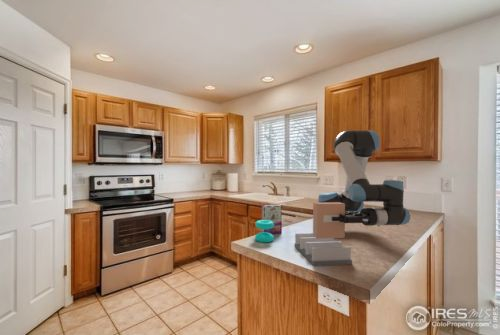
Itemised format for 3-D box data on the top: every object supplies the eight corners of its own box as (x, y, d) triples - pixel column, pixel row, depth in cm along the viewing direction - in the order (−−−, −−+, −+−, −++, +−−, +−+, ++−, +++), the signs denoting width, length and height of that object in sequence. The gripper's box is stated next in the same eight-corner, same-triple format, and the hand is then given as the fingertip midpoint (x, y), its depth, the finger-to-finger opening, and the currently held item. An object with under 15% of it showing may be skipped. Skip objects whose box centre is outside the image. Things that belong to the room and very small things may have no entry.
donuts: (266, 224, 119) (251, 221, 125) (266, 244, 119) (251, 240, 125) (277, 221, 127) (262, 218, 133) (277, 240, 127) (262, 236, 133)
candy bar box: (278, 231, 145) (278, 204, 145) (281, 233, 140) (282, 205, 140) (261, 232, 142) (261, 204, 142) (263, 234, 137) (264, 206, 137)
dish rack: (294, 246, 117) (294, 232, 117) (325, 245, 119) (325, 232, 119) (313, 265, 93) (314, 249, 93) (351, 264, 95) (352, 248, 95)
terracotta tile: (313, 235, 100) (313, 202, 100) (339, 234, 102) (339, 202, 102) (316, 238, 96) (317, 203, 96) (344, 237, 98) (344, 203, 98)
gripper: (386, 230, 93) (330, 231, 90) (360, 220, 110) (312, 221, 107) (386, 211, 93) (330, 212, 90) (360, 204, 110) (312, 205, 107)
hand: (321, 217), depth 99 cm, fingers closed on terracotta tile, 4 cm apart
